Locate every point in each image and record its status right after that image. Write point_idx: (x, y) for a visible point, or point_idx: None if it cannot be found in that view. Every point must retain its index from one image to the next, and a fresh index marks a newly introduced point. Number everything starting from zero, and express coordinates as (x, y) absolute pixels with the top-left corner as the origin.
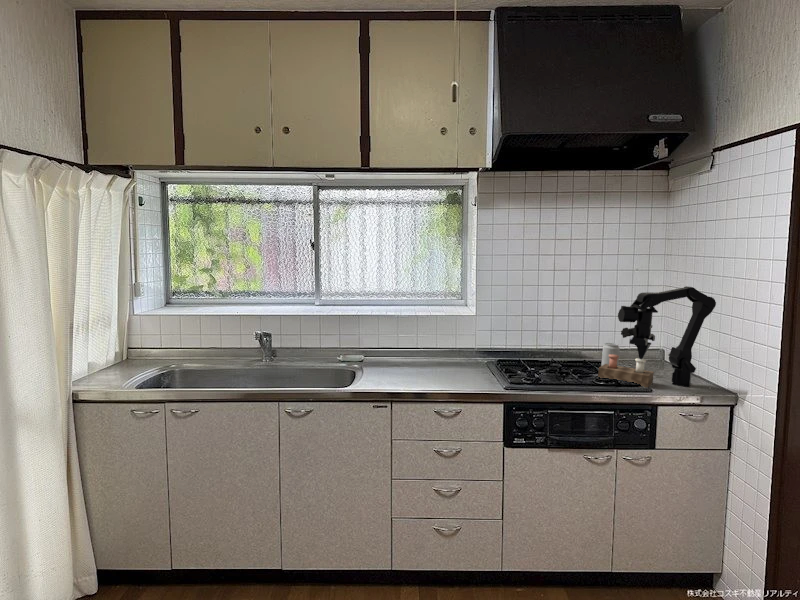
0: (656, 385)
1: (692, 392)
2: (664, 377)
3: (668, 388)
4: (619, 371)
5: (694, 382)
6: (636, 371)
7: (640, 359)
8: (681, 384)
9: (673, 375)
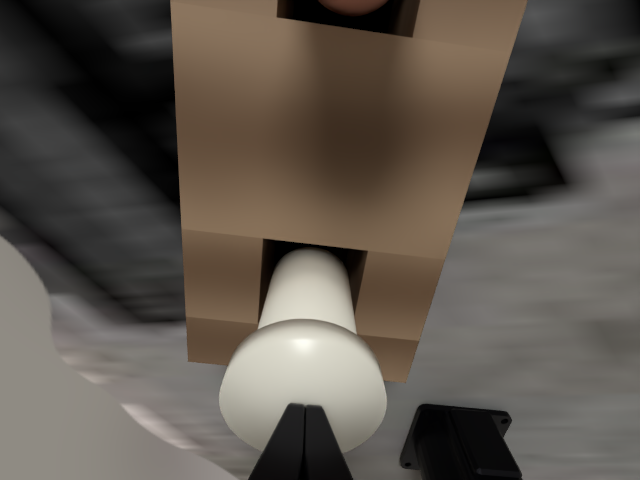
0: None
1: None
2: (615, 362)
3: None
4: (176, 83)
5: (543, 475)
6: (280, 266)
7: (299, 403)
8: (415, 444)
9: (465, 456)
